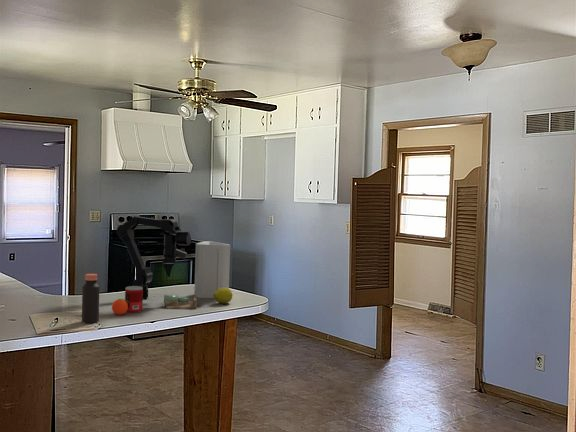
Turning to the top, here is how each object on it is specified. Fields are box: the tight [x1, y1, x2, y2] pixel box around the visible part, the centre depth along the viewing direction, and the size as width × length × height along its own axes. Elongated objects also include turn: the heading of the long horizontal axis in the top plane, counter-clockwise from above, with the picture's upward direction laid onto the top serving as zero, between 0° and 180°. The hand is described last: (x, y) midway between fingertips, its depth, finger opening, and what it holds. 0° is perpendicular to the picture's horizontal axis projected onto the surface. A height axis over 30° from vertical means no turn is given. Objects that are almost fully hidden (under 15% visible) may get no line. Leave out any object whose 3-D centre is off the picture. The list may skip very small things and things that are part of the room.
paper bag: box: [193, 240, 231, 299], centre depth 317 cm, size 19×15×28 cm
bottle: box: [163, 294, 189, 305], centre depth 288 cm, size 4×4×12 cm
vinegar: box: [81, 273, 100, 324], centre depth 250 cm, size 7×7×20 cm
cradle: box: [165, 295, 198, 310], centre depth 290 cm, size 14×13×4 cm
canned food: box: [124, 285, 144, 314], centre depth 274 cm, size 8×8×11 cm
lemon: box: [213, 288, 233, 305], centre depth 299 cm, size 11×8×8 cm
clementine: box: [111, 298, 129, 316], centre depth 266 cm, size 8×7×7 cm
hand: (169, 275), depth 300 cm, fingers open, 9 cm apart
